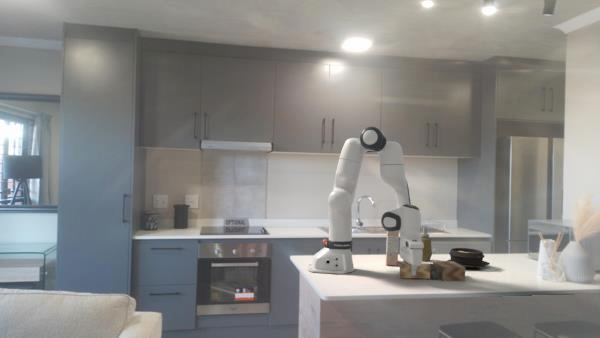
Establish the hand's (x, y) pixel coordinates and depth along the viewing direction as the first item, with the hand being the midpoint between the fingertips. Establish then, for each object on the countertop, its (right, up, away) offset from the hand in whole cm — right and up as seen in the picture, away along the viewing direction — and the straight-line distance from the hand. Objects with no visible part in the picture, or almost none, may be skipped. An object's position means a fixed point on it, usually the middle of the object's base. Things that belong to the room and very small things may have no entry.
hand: (409, 272), depth 183 cm
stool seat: (+16, -3, +4) cm, 17 cm away
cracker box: (-1, -3, +32) cm, 32 cm away
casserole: (+36, -4, +28) cm, 46 cm away
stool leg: (+4, -2, 0) cm, 5 cm away
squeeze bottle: (+19, -4, +41) cm, 45 cm away
